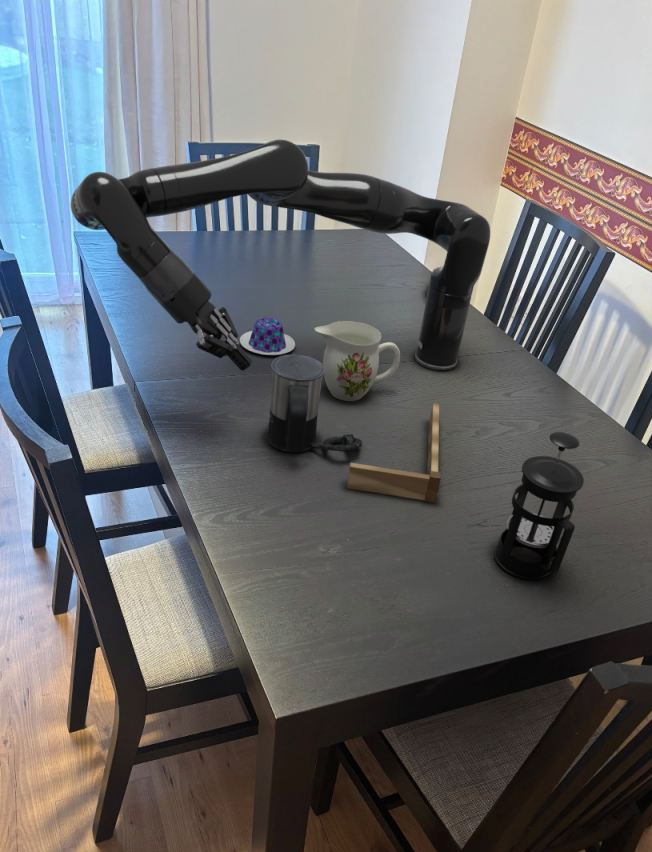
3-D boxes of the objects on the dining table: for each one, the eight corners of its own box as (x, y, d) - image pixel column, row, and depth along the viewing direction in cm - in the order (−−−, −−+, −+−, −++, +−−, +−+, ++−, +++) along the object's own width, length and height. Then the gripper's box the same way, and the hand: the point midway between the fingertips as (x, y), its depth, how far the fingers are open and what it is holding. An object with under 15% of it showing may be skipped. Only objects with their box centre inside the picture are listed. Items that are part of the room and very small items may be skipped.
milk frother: (259, 428, 144) (263, 355, 135) (338, 419, 150) (347, 348, 141) (285, 472, 134) (291, 397, 125) (368, 460, 140) (380, 387, 131)
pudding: (261, 362, 164) (262, 339, 161) (228, 339, 171) (229, 317, 167) (306, 350, 171) (308, 328, 168) (272, 328, 178) (274, 306, 174)
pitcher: (401, 406, 157) (412, 343, 149) (313, 407, 153) (320, 342, 144) (386, 379, 165) (397, 318, 157) (302, 379, 161) (308, 316, 152)
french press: (479, 545, 125) (515, 423, 111) (525, 533, 129) (566, 413, 115) (524, 594, 117) (569, 469, 103) (571, 579, 121) (621, 456, 107)
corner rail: (360, 412, 153) (363, 389, 150) (436, 424, 153) (441, 401, 150) (346, 489, 133) (350, 464, 130) (434, 503, 133) (440, 478, 130)
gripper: (171, 284, 133) (239, 360, 141) (147, 316, 123) (223, 396, 130) (202, 258, 130) (270, 338, 138) (180, 289, 120) (256, 373, 127)
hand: (247, 366), depth 134 cm, fingers closed
